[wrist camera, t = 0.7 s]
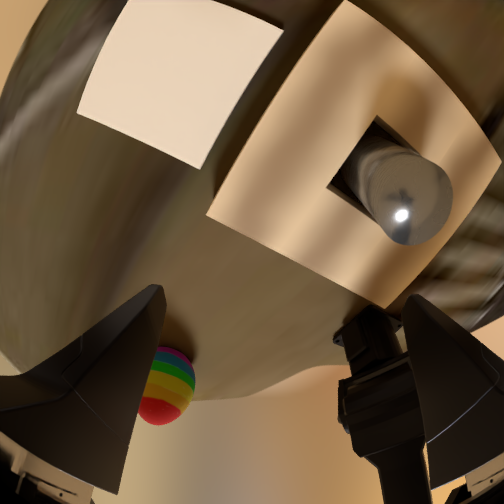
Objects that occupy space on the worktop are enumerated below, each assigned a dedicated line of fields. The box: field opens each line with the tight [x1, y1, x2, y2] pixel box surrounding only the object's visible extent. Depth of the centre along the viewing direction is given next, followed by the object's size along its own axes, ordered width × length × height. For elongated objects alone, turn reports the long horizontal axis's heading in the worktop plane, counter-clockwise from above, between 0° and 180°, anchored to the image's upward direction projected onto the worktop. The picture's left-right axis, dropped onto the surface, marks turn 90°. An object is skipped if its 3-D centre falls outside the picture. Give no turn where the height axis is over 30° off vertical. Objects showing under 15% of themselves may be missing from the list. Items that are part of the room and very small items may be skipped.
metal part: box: [340, 135, 453, 246], centre depth 16 cm, size 5×5×8 cm
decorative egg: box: [138, 347, 195, 425], centre depth 29 cm, size 8×8×10 cm
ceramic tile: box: [77, 0, 283, 169], centre depth 15 cm, size 12×12×1 cm
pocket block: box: [206, 0, 501, 309], centre depth 18 cm, size 18×18×3 cm
